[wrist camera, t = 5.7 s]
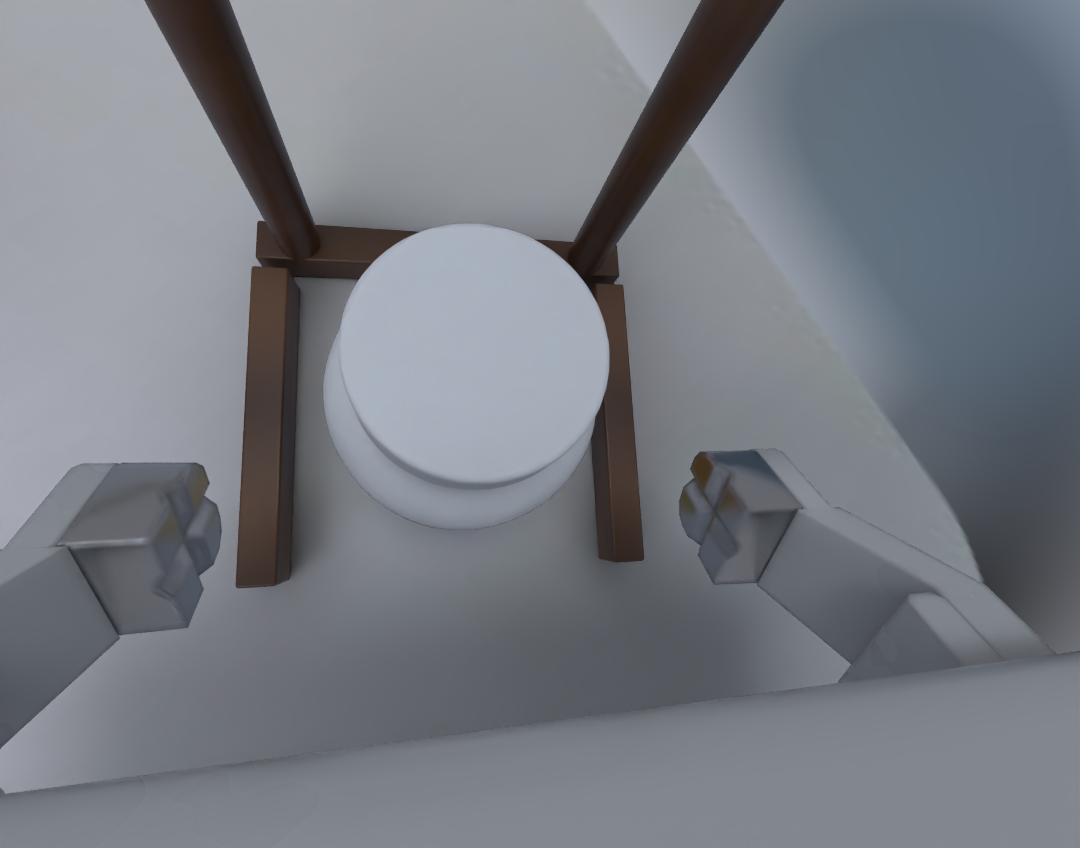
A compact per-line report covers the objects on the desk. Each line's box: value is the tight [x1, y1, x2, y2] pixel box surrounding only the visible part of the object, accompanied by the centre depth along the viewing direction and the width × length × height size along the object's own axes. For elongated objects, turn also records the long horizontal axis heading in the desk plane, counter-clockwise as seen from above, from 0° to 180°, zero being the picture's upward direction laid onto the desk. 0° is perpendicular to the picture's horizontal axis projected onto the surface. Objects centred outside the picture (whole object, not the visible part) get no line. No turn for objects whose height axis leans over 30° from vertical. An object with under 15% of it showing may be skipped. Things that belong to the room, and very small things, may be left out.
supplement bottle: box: [323, 223, 609, 530], centre depth 12 cm, size 5×5×10 cm
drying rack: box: [145, 0, 784, 588], centre depth 10 cm, size 11×11×14 cm
